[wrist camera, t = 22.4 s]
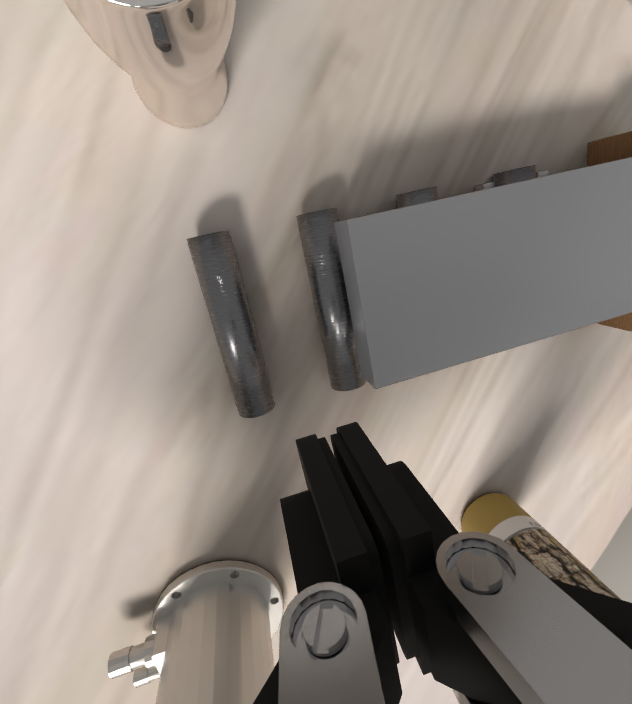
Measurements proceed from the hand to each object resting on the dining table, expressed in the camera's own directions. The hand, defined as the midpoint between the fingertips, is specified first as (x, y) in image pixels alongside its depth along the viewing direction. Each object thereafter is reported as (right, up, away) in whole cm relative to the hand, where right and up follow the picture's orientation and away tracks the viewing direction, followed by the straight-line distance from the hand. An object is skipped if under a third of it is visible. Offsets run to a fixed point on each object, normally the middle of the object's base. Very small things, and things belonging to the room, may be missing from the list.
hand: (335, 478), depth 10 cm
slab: (+13, +10, +20) cm, 27 cm away
